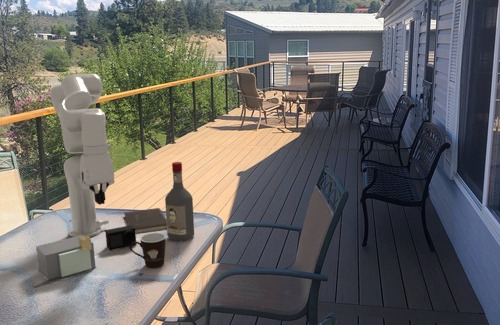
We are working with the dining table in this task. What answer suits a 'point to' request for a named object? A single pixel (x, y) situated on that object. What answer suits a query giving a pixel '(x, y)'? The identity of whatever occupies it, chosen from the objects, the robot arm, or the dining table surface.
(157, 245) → the coffee mug
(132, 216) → the hardcover book
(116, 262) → the dining table surface
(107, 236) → the digital camera
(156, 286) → the dining table surface
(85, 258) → the side door
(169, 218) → the liquor
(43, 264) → the box
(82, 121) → the robot arm
